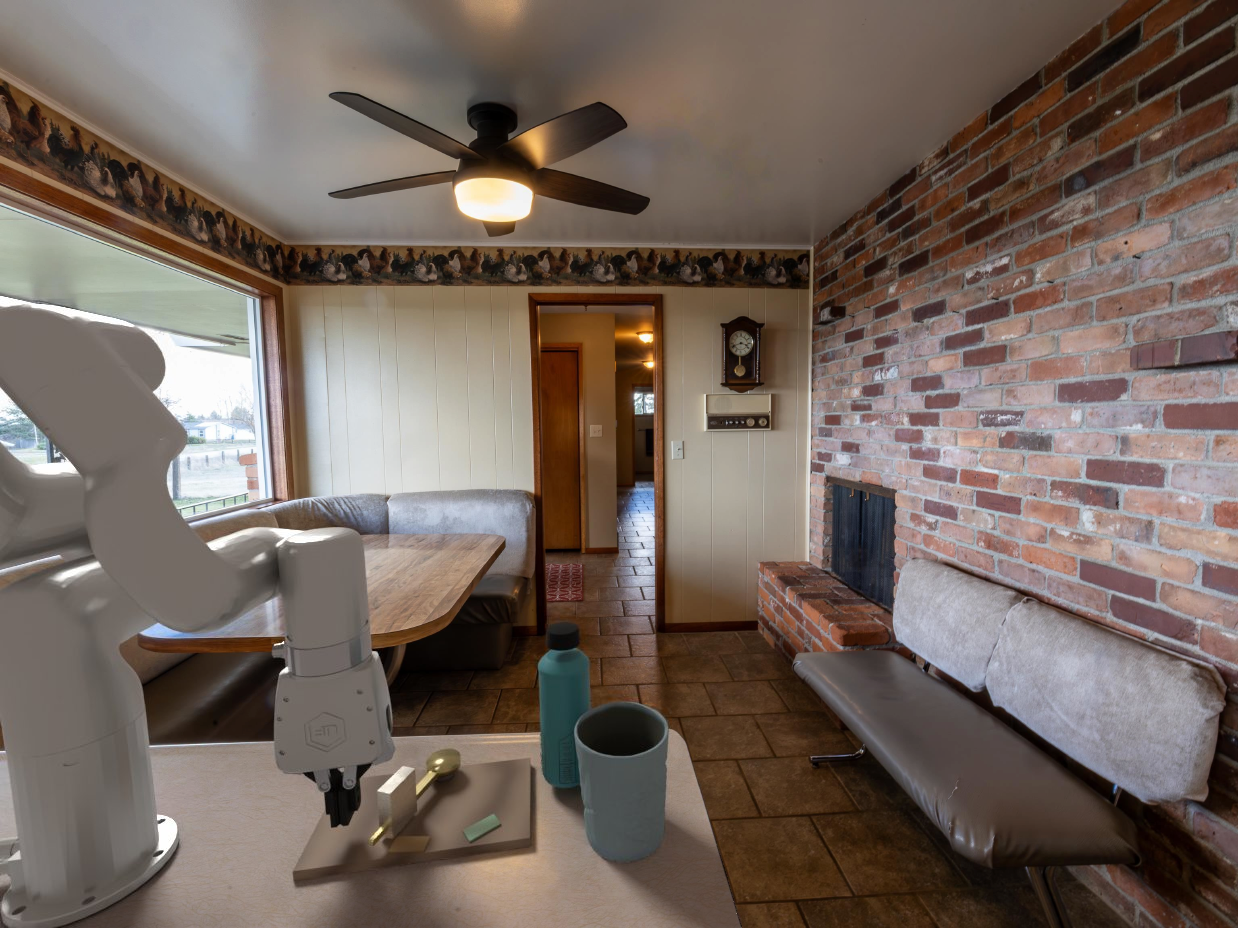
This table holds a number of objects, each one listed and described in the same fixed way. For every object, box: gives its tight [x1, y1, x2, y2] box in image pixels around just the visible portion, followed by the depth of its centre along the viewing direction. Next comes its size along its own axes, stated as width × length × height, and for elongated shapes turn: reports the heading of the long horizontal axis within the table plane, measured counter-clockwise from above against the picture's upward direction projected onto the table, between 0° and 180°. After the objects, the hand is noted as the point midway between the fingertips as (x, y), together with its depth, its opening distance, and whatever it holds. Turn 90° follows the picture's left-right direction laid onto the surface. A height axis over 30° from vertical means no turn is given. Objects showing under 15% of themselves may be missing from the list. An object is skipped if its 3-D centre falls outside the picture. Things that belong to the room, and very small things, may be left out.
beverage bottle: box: [537, 621, 593, 789], centre depth 64 cm, size 6×7×20 cm
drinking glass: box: [574, 701, 670, 864], centre depth 57 cm, size 10×10×12 cm
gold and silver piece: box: [369, 748, 462, 847], centre depth 59 cm, size 14×4×5 cm, turn 164°
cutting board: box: [292, 757, 532, 881], centre depth 60 cm, size 23×13×2 cm, turn 99°
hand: (344, 816), depth 55 cm, fingers closed
